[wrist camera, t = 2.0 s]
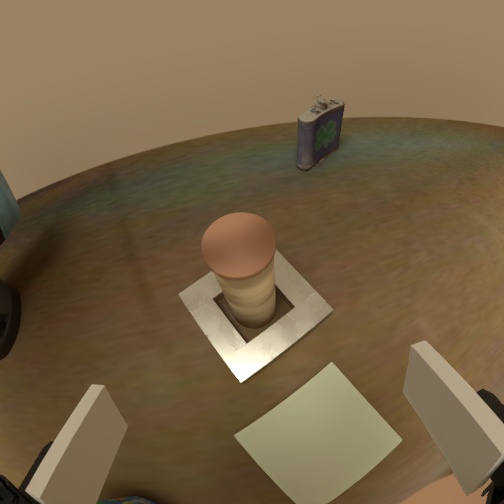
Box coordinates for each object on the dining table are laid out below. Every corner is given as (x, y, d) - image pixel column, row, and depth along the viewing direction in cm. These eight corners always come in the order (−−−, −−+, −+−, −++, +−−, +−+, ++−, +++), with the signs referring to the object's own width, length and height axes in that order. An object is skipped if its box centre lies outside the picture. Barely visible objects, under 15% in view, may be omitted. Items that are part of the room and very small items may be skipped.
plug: (222, 304, 33) (188, 238, 21) (258, 278, 34) (246, 201, 22) (249, 339, 30) (228, 291, 18) (287, 310, 32) (291, 245, 20)
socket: (182, 298, 34) (178, 294, 32) (263, 242, 37) (263, 235, 35) (242, 383, 28) (240, 382, 27) (331, 314, 31) (333, 309, 30)
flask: (305, 174, 42) (308, 111, 33) (290, 164, 44) (290, 103, 34) (341, 148, 45) (349, 92, 35) (327, 140, 47) (332, 85, 37)
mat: (234, 434, 25) (233, 435, 24) (330, 362, 28) (331, 361, 28) (308, 513, 19) (308, 515, 18) (400, 439, 22) (402, 439, 22)
